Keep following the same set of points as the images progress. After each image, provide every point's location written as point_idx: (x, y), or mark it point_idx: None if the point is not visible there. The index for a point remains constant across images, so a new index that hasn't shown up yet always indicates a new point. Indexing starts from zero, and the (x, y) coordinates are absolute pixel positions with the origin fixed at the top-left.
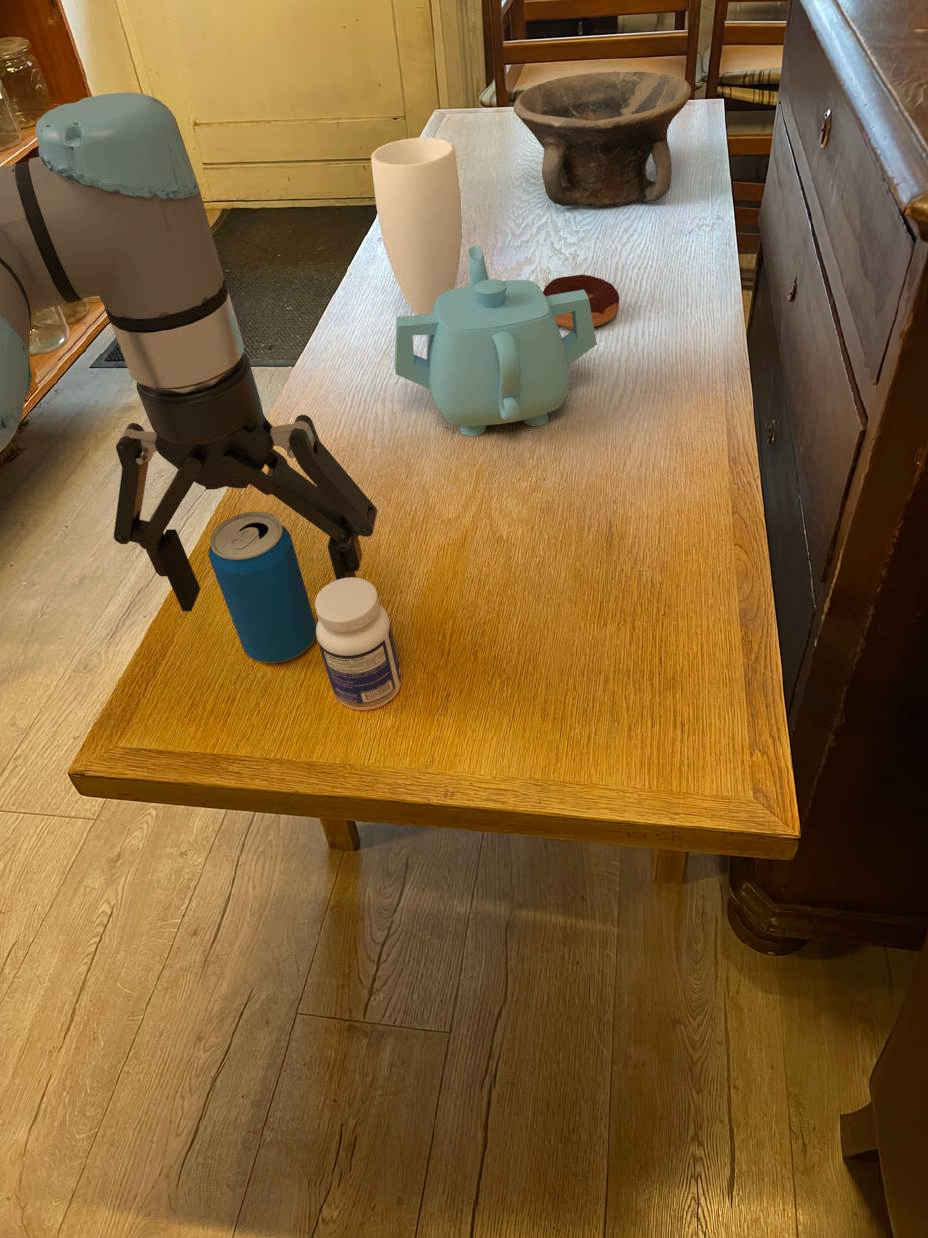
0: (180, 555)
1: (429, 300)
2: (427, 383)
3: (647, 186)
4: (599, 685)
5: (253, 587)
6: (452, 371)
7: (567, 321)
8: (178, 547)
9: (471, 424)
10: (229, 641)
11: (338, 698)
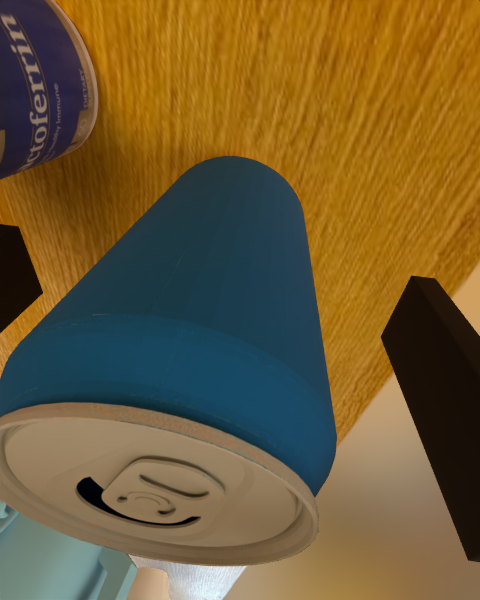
0: (445, 441)
1: (141, 588)
2: None
3: None
4: None
5: (147, 264)
6: (45, 567)
7: None
8: (455, 476)
9: None
10: (332, 239)
11: (50, 1)
